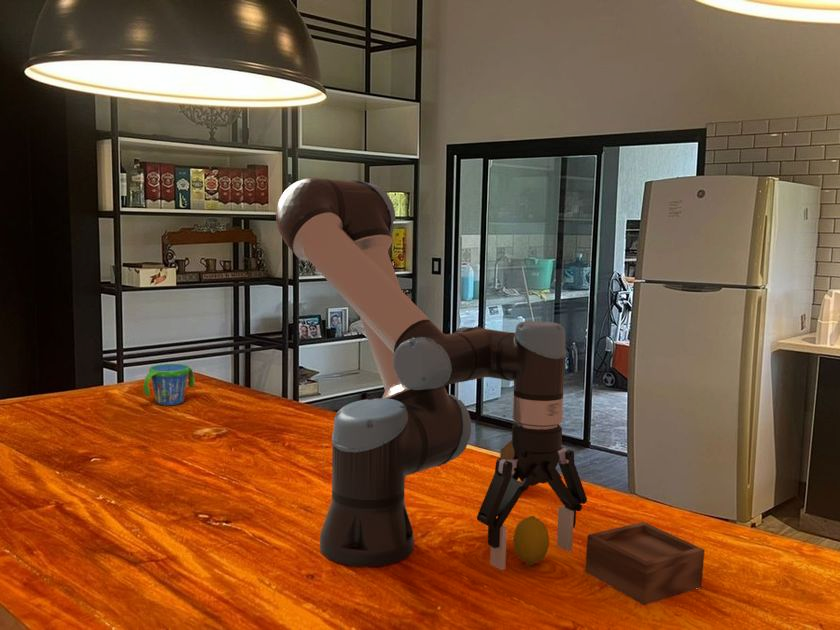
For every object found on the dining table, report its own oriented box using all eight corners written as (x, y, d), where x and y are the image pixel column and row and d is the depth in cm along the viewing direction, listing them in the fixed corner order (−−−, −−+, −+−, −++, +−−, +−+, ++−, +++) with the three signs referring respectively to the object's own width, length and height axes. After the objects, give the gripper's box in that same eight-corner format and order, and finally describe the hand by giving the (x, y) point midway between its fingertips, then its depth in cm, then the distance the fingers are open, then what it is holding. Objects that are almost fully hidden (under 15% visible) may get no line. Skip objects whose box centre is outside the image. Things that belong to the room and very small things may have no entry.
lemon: (524, 554, 127) (526, 507, 126) (554, 565, 123) (557, 516, 122) (505, 565, 123) (507, 516, 122) (535, 576, 119) (538, 526, 118)
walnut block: (643, 607, 111) (646, 565, 111) (585, 573, 122) (587, 534, 121) (701, 589, 117) (704, 549, 117) (640, 558, 128) (643, 521, 127)
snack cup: (154, 411, 210) (153, 373, 209) (133, 404, 217) (133, 367, 216) (204, 402, 222) (204, 366, 221) (184, 395, 229) (184, 361, 227)
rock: (506, 490, 150) (542, 474, 156) (485, 450, 153) (521, 435, 159) (477, 508, 158) (512, 492, 164) (458, 469, 161) (492, 455, 167)
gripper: (487, 439, 110) (482, 584, 113) (613, 419, 124) (606, 549, 126) (456, 427, 117) (452, 565, 119) (579, 409, 130) (573, 533, 132)
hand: (532, 557), depth 123 cm, fingers open, 13 cm apart
